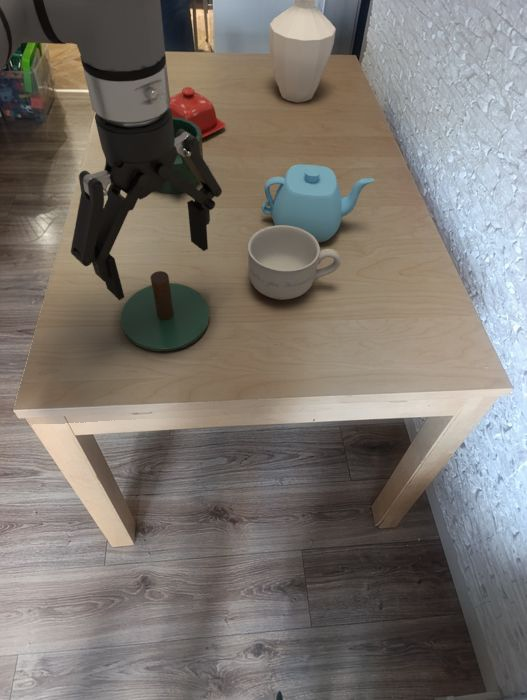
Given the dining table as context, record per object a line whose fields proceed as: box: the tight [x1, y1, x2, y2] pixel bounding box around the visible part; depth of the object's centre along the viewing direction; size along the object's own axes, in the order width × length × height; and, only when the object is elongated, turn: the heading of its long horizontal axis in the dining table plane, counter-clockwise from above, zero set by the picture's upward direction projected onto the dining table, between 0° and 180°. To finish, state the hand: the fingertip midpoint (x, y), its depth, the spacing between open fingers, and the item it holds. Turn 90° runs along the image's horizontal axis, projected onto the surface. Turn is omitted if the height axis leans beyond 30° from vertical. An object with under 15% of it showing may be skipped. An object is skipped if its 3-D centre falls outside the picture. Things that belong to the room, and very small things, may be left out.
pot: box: [156, 117, 204, 195], centre depth 93 cm, size 12×17×8 cm
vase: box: [268, 0, 337, 104], centre depth 109 cm, size 14×14×25 cm
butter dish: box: [169, 86, 226, 139], centre depth 103 cm, size 12×12×8 cm
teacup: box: [247, 225, 342, 300], centre depth 77 cm, size 14×11×8 cm
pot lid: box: [120, 270, 210, 352], centre depth 71 cm, size 13×13×9 cm
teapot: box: [261, 164, 375, 243], centre depth 85 cm, size 13×11×18 cm
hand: (159, 268), depth 66 cm, fingers open, 13 cm apart
